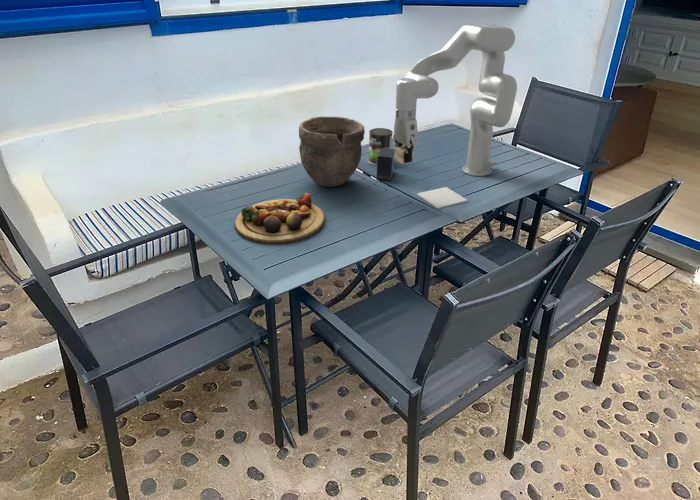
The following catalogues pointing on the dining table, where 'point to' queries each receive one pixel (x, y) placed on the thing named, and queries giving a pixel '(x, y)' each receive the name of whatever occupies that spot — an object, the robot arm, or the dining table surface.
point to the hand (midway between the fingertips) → (403, 159)
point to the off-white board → (442, 197)
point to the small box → (385, 164)
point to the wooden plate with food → (280, 220)
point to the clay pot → (330, 148)
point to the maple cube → (401, 154)
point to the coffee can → (378, 142)
